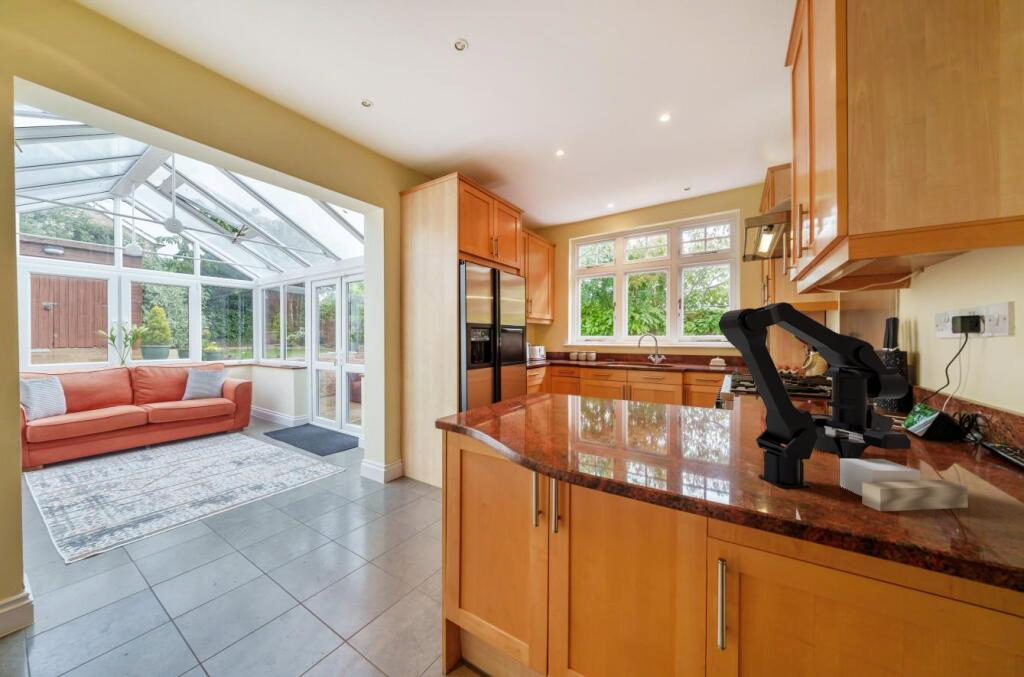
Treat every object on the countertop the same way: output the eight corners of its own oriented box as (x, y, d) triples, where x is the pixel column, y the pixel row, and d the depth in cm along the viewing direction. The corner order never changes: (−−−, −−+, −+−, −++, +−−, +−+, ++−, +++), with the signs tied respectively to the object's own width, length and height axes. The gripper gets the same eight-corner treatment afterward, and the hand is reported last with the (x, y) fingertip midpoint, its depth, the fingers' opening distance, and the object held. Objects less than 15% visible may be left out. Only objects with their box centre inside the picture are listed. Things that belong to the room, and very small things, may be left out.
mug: (870, 457, 95) (870, 421, 95) (816, 453, 98) (816, 418, 99) (850, 448, 103) (850, 415, 103) (801, 445, 106) (801, 412, 107)
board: (880, 511, 64) (880, 488, 64) (862, 503, 67) (862, 482, 67) (967, 507, 66) (967, 485, 66) (946, 500, 69) (946, 479, 69)
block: (872, 501, 69) (872, 470, 69) (839, 487, 76) (839, 458, 76) (920, 502, 69) (920, 470, 69) (883, 487, 76) (883, 459, 76)
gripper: (936, 405, 70) (936, 486, 70) (840, 392, 88) (840, 455, 88) (884, 406, 69) (884, 487, 69) (798, 392, 87) (798, 456, 87)
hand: (849, 470), depth 78 cm, fingers closed
